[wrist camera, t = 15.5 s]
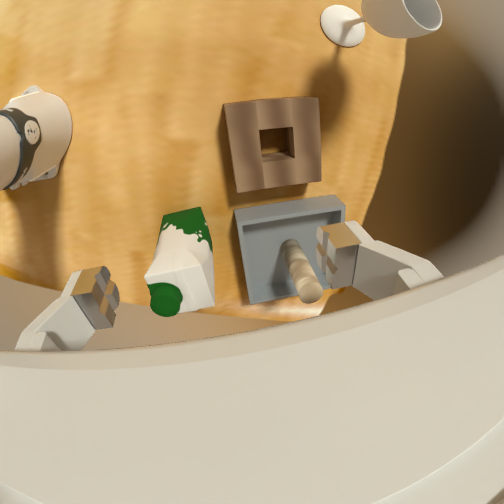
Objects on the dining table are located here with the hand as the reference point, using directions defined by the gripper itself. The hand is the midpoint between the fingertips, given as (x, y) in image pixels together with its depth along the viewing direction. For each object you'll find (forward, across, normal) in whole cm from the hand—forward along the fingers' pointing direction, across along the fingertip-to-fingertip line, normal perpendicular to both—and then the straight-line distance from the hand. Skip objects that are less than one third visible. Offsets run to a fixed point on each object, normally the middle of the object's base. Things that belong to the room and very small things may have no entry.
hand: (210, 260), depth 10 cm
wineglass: (+37, -25, -17) cm, 48 cm away
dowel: (+36, -12, +26) cm, 46 cm away
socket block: (+37, -10, +4) cm, 38 cm away
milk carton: (+37, +7, +18) cm, 42 cm away
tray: (+37, -12, +26) cm, 47 cm away
